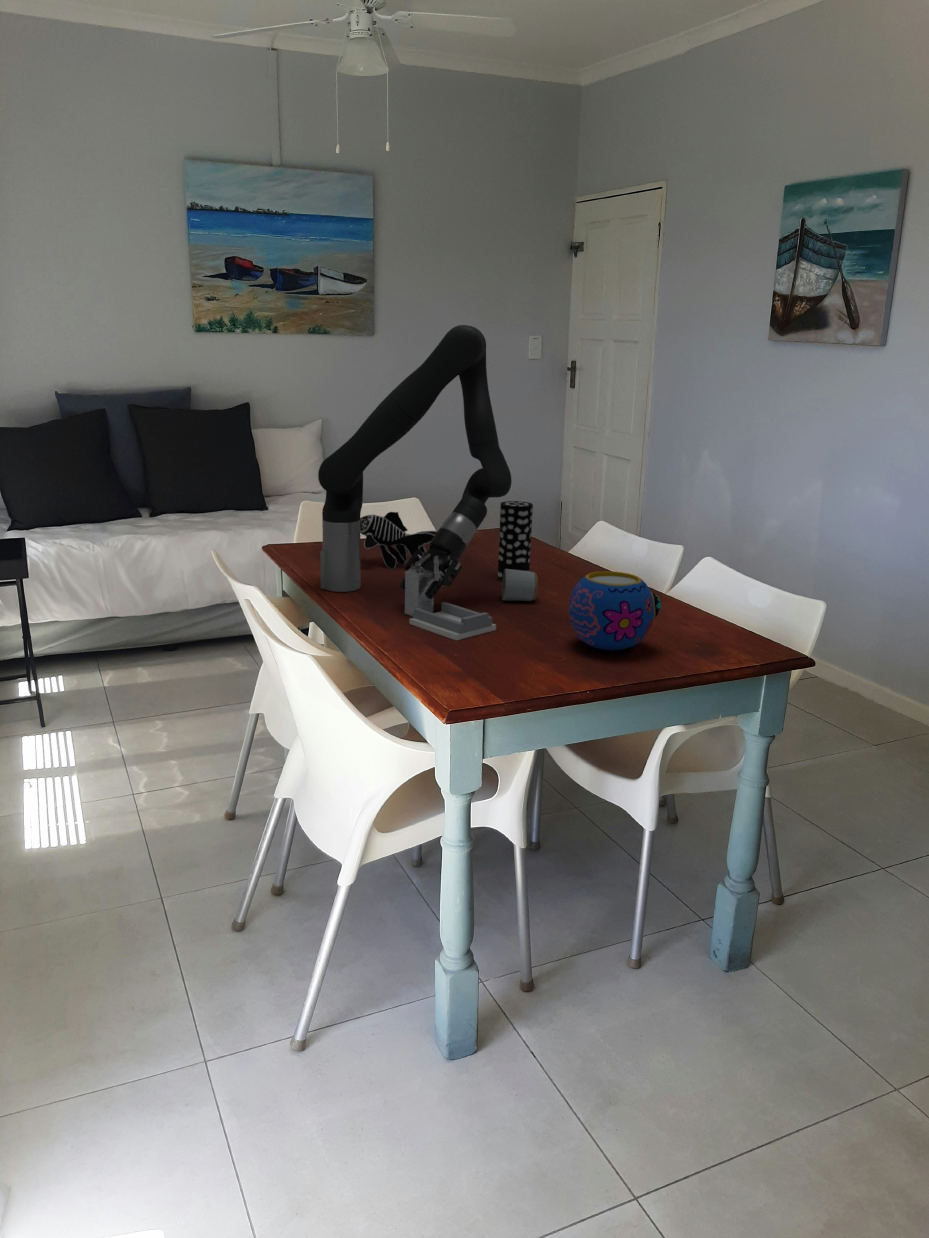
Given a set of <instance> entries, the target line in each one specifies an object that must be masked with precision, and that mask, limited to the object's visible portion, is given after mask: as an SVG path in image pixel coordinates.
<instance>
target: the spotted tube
mask: <svg viewBox="0 0 929 1238" xmlns="http://www.w3.org/2000/svg"><path fill="white" fill-rule="evenodd" d="M533 507H534V505H533V503H532V502H527V501H521V500H520V501H519V500H509V501H508V500H506V501H502V502H500V510H499V511H500V513H499V529H498V531H499V533H498V535H499V536H498V557H497V577H496V578H497V580H498V581H499V582H502V581H503V574H504V570H505V569H512V570H521V571H530V569H531V568H530V567H531V550H532V549H531V546H532V532H533V531H532V528H533V509H534V508H533Z"/></svg>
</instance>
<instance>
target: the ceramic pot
mask: <svg viewBox="0 0 929 1238" xmlns="http://www.w3.org/2000/svg"><path fill="white" fill-rule="evenodd" d="M661 608H662V605H661V599H660V597H659V596H658V595H657V594H656V593H653V592H652V590H650V588H649V585H648V584H647V583H646V582H645V581H644V580H643V579H642V578H640V577H639V576H637V575H635V574H631V573H629V572H620V571H610V570H609V571H608V570H606V571H594V572H590V573H588V574H586V575H584V576H583V577H582V578H581V579H580V580H579V581H578V582H577V583H576V585H575V586H574V588H573V590H572V593H571V594H570V598H569V603H568V615H569V621H570V625H571V626H572V630H573V631H574V633H575V636H576V637H578V638H577V639H579V640H581V641H582V642H583V643H584V644H585V645H588V646H591V647H592V648H595V649H599V650H602V651H613V652H614V651H621V650H622V651H623V650H626V649H628V648H631V647H634V646H636V645H638V644H639V643H641V641H643V640H644V638H645V637H646V636H647V635H648V633H649V631H650V629H651V627H652V625H653V622H654V620H655V619H656V617H657V616H658V615H659V613H660V611H661Z"/></svg>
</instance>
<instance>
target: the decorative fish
mask: <svg viewBox="0 0 929 1238" xmlns="http://www.w3.org/2000/svg"><path fill="white" fill-rule="evenodd" d="M408 531H409V530H408V528H407V527H406V526H405V525H404V522H403V521H402V519H401V516H400V515H399V511H389V512H387V513H386V514H385V515H384V516H382V515H377V514H367V515H363V516H362V517H361V516H360V535H362V536H364V537H365V539H364V541H363V547H364V548H365V549H367V550H368V549H370V550H371V549H372V548H374V547H376V546H378V545H379V549H380V552H381V556H382V559H383V562H384V564H385V566H386V567H387V568H388V569H390V570H394V569H395V568H396V566H397V564H399V565H400V566H401V565H402V566H403V565H404V566H405V565H406V563H407V562H408V558H407V557H408V555H407V553H408V554H409V556H410V558H411V557H412V555H413V554H414V553H415V551H416V550H417V549H420V550H421V551H422V552H424V553H426V552H427V551H428V550H426V548H425V546H426V545H429V544H430V542H431V540H432V539H433V537H434V536H435V534H436V533H437V532H438V530H422V531H417V532H416V533H407V532H408ZM394 546H395V547H394ZM421 567H422V568H423V564H422V565H421ZM423 569H424V568H423Z"/></svg>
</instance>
